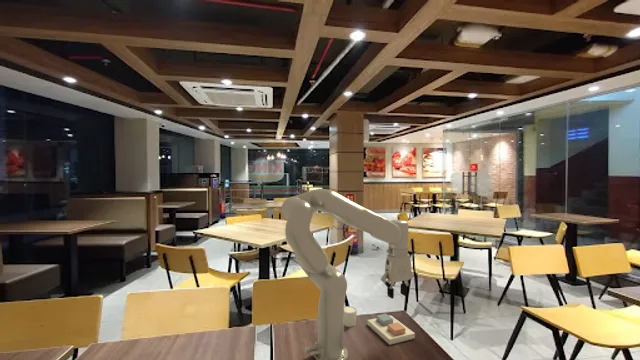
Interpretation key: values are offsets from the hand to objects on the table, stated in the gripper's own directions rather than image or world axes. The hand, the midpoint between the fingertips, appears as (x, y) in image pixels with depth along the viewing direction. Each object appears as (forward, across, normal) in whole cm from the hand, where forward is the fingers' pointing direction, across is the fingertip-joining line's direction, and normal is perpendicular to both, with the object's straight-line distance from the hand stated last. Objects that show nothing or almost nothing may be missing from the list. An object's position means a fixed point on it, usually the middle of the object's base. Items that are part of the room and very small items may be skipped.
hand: (397, 295), depth 121 cm
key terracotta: (+15, 0, 0) cm, 15 cm away
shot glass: (+18, -13, +16) cm, 27 cm away
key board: (+18, 0, +4) cm, 18 cm away
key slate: (+15, 0, +8) cm, 17 cm away
